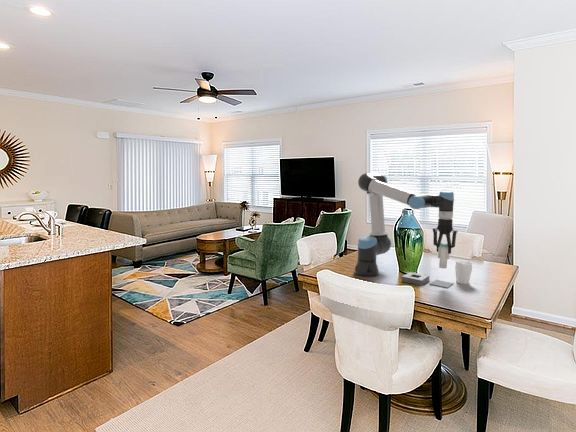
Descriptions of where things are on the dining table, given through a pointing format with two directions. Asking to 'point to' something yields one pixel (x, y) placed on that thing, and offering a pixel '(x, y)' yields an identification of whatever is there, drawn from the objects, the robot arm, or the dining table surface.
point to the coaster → (441, 283)
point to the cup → (463, 272)
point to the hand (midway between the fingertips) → (443, 258)
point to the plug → (443, 255)
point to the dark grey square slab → (415, 278)
